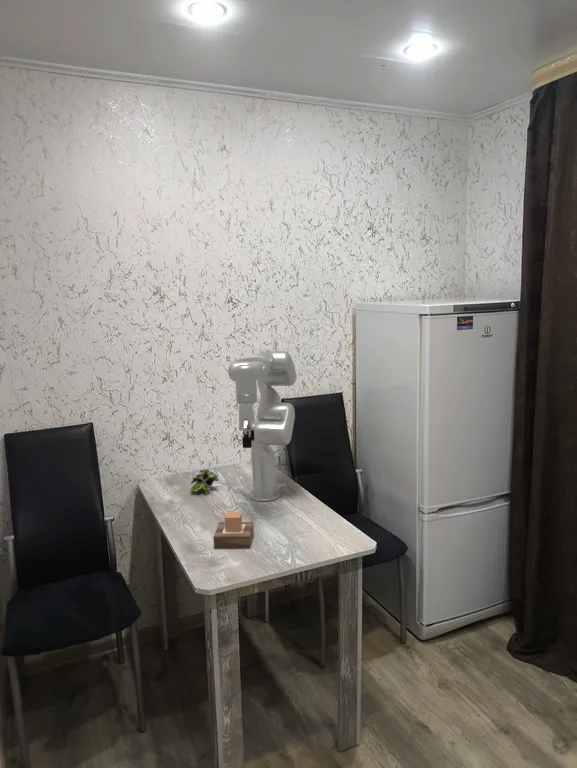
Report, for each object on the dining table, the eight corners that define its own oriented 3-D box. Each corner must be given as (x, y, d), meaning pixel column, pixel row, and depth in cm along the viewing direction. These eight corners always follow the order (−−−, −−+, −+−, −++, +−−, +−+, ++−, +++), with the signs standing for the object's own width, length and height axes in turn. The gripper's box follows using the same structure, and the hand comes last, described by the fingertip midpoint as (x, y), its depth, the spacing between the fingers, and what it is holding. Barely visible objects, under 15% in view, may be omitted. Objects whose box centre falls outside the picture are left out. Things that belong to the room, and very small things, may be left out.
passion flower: (206, 500, 245) (218, 475, 247) (213, 503, 235) (226, 477, 238) (183, 489, 241) (196, 464, 244) (189, 492, 231) (203, 466, 234)
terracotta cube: (227, 525, 193) (226, 512, 193) (242, 525, 193) (241, 511, 192) (225, 531, 188) (224, 517, 188) (240, 531, 188) (239, 517, 187)
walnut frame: (219, 533, 198) (219, 521, 197) (253, 532, 197) (253, 521, 196) (214, 548, 186) (213, 536, 185) (250, 548, 185) (249, 536, 185)
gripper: (239, 394, 213) (241, 438, 215) (233, 403, 195) (235, 450, 198) (259, 393, 212) (260, 437, 215) (254, 402, 195) (256, 450, 198)
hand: (248, 443), depth 207 cm, fingers open, 9 cm apart
